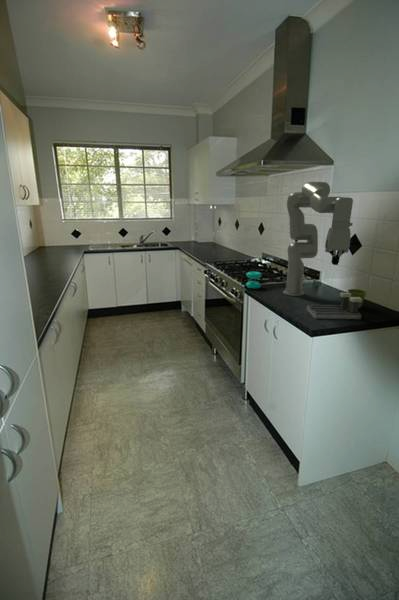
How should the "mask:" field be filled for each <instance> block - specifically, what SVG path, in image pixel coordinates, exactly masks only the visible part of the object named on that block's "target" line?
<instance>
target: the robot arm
mask: <svg viewBox="0 0 399 600" xmlns="http://www.w3.org/2000/svg"><path fill="white" fill-rule="evenodd" d="M330 193H331V186H330V184H329V183H328V182H326V181H309V182H306V183H304V184H303V185H302V188H301V191H297V192H292V193H290V194H289V195H288V197H287V200H286V208H287V212H288V219H289V237H290V239H291V240H293V241H297V242H292V243H289V245H288V247H287V272H286V274H287V275H286V284H285V289H284V290H283V291H282V293H283V294H284V295H287V296H292V297H301V296H302V297H303V296H304V295H305V292H304V291H303V282H304V273H305V265H304V262H303V261H302V259H313V258H315V257H317V255H318V252H319V249H318V248H319V246H318V245H319V241H318V240H319V239H318V237H319V235H318V228H317V226H316V225H315V224H313V223H305V214H304V213H303V211H302V210H301V208H311V209H312V210H313V211H315V212H316V213H318V214H319V213H320V214H332V219H331V227H328V231H327V234H326V239H325V243H324V248H325V249H324V251H325V252H326V253H328V254H330V255H331V265H332V266H333V265H334V266H338V265H339V263H340V260H341V258H340V257H342V255H343V254H347V253H349V251H350V245H351V234H352V233H351V229H350V228H351V227H352V226H353V222H351V216H352V212H353V211H352V210H353V203H354V199H353V198H352V197H348V196H347V197H346V196H345V197H344V196H330ZM298 241H299V242H298ZM300 241H301V242H300Z"/></svg>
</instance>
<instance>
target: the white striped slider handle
mask: <svg viewBox="0 0 399 600" xmlns="http://www.w3.org/2000/svg"><path fill="white" fill-rule="evenodd" d="M351 295H352V294H350V293H348V292H339V297H341V302H340V305H341V308H347V306H348V305H349V297H351Z"/></svg>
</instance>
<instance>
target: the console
mask: <svg viewBox="0 0 399 600" xmlns="http://www.w3.org/2000/svg"><path fill="white" fill-rule="evenodd" d="M306 310H307V312H308V313H309V314H310V315H311V316H312V318H314V319H316V320H318V319H319V320H323V319H324V320H327V319H328V320H361V319H362V314H361V313H360V312H359V311H358V312H357V313H351V312H350V310H351V306H349V304H348V306H347V308H341V304H307V306H306Z"/></svg>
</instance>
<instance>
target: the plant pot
mask: <svg viewBox="0 0 399 600" xmlns="http://www.w3.org/2000/svg"><path fill="white" fill-rule="evenodd" d="M347 293H350V294H352V295H351V297H360V298H361V299H362V302H359V306H358V309H361V308H362V306H363V302H364V300H365V297H366V295H367V294H368V292H367V291H366V290H363V289H359V288H357V289H356V288H350V289H348V290H347ZM351 303H352V301H350V297H349V299H348V305H349V306H351Z"/></svg>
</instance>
